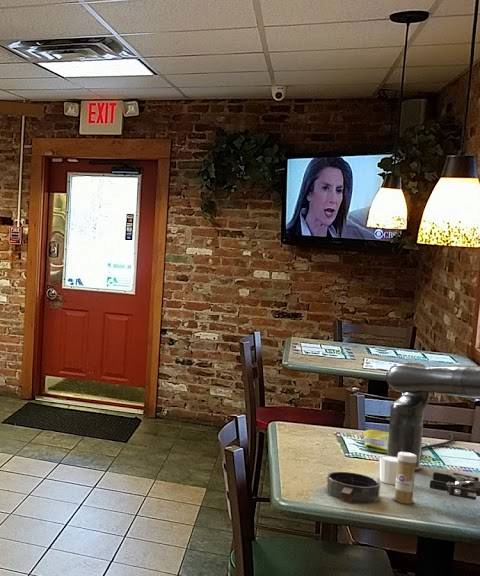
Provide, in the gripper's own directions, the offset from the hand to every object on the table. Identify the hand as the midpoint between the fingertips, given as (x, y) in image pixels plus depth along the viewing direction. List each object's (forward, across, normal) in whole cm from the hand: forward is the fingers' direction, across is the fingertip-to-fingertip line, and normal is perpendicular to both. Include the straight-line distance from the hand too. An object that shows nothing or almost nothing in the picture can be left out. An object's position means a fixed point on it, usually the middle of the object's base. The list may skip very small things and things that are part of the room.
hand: (431, 479), depth 208 cm
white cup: (+11, -17, +8) cm, 22 cm away
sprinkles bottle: (+6, 0, +8) cm, 10 cm away
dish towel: (+16, -61, +8) cm, 64 cm away
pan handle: (+18, +13, +8) cm, 24 cm away
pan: (+18, +4, +8) cm, 20 cm away
